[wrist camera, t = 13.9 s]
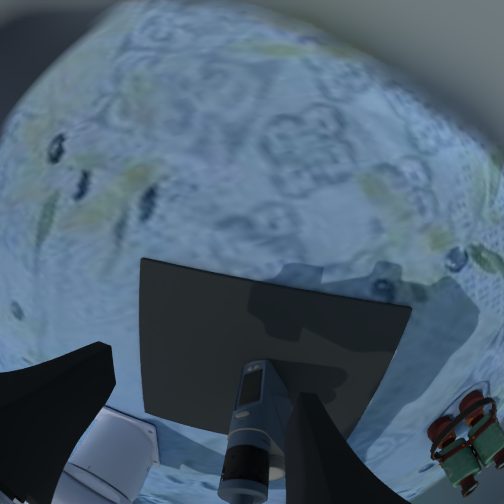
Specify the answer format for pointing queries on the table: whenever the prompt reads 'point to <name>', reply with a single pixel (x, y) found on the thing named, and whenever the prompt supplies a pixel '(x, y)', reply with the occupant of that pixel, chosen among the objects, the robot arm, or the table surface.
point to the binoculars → (468, 442)
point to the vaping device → (255, 435)
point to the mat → (256, 344)
